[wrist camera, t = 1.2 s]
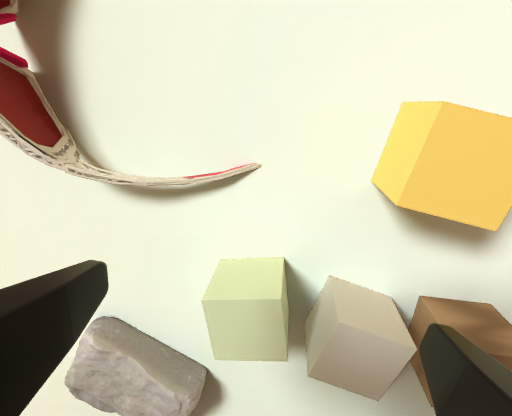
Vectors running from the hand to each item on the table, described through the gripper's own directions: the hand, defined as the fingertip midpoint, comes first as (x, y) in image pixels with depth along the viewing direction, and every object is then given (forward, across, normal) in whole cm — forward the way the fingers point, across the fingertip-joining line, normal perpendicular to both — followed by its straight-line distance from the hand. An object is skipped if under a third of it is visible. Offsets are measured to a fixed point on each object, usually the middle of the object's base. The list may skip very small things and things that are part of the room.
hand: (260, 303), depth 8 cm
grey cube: (+12, -7, +10) cm, 17 cm away
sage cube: (+13, +1, +9) cm, 15 cm away
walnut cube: (+12, -14, +9) cm, 21 cm away
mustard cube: (+13, -9, -3) cm, 16 cm away
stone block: (+13, +11, +21) cm, 27 cm away
